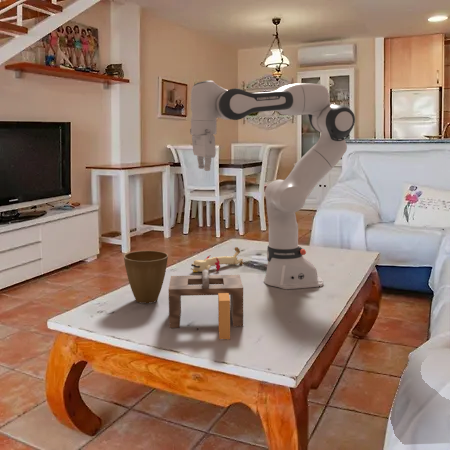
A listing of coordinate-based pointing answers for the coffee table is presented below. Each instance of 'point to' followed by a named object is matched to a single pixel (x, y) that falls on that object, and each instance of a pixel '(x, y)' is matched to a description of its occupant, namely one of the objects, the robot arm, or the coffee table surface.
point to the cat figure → (216, 262)
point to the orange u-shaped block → (224, 315)
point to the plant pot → (146, 274)
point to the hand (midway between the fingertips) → (204, 169)
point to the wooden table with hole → (205, 293)
